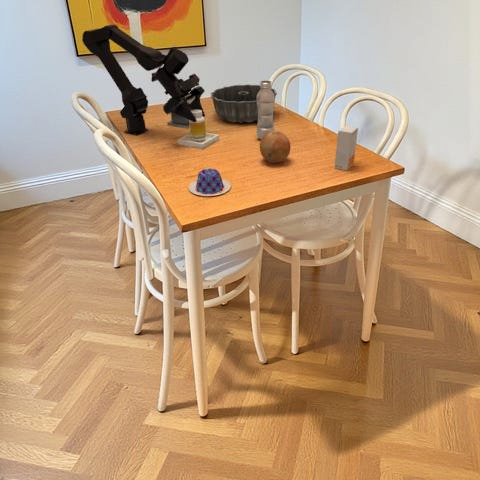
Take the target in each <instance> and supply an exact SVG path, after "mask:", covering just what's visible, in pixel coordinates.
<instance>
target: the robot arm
mask: <svg viewBox="0 0 480 480" xmlns="http://www.w3.org/2000/svg"><path fill="white" fill-rule="evenodd" d="M81 41H82V43H83V45H84V47H86V49H87V50H88V51H89V53H91V54H93V55H94V56H96V57H97V58H98V59H99V61H101V64H102V65H103V66H104V69H106V70H105V71H107V73H108V74H109V76H110V77H111V79H112V80H113V82H114V84H115V85H116V87H117V89H118V90H119V92H120V94H121V102H122V104H123V108H122V109H121V110H120V112H119V115H121V118H122V119H125V123H126V124H125V125H126V129H127V130H124V133H125V134H131V135H135V136H137V135H138V136H139V135H140V134H142V133H145V132H147V131H148V130H149V129H148V128H146V121H145V117H144V114H147V109H148V106H149V100H148V95H146V94H145V93H144V89H143V88H141V87H139V88H137V87H135V86H134V85H133V83H132V82H131V81H130V79H129V77H128V76H127V74H126V73H125V70H124V69H123V68H122V66H121V65H120V64H119V62H118V60H117V59H116V57H115V55H114V54H113V52H112V51H111V43H110V41H112V42H113V43H114V44H116V45H118V46H119V47H120V48H122V49H123V50H125V51H126V52H127V53H128V54H131V56H133V57H134V58H135V59H136V62H137V64H138V65H140V67H141V68H143V69H144V70H145V71H147V72H150V71H154V70H156V69H157V70H156V71H155V72H152V73H151V82H152V83H154V82H157V81H158V82H159V84H160V85H161V86H162V87H163V88H164V89H165V91H164V94H165V95H169V96H170V98H168V100H167V101H166V103H165V104H163V106H162V109H163V111H164V113H165V114H166V116H167V115H168V116H169V115H171V113H172V109H173V108H174V110H175V111H174V112H173V114H177V115H180V116H182V117H184V118H186V119H188V120H190V121H193V122H196V121H197V120H196V118H195V117H194V115H193V114H192V112H191V111H190V109H189V108H191V109H192V110H202V116H203V117H204V118H205V117H206V114H205V111H204V108H203V106H202V103H201V97H202V95H203V94H204V93H205V89H204V88H203V87H202V86H201V85H200V84H199V83H200V80H201V79H200V77H199V76H198V75H196V73H192V74H191V75H189V76H188V79H185V80H184V79H183V78H178V77H177V76H176V75H179V74H180V73H181V71H183V69H184V67H186V65H187V64H188V62H189V61H190V59H189V57H188V55H187V53H185V52H183V51H182V50H180V49H178V48H177V47H176V46H173V47H171V48H170V49H169V51H168V52H167V54H163V53H162V52H161V51H160V50H158V49H156V48H153V47H150V46H147V45H144V44H142V43H141V42H139V41H137V40H136V39H134V38H133V37H132V36H131V35H129V34H128V33H126V32H125V31H123V30H122V29H120V28H119V26H118V25H116V24H108V25H105V26H102V27H100V28H95V29H90V30H89V29H88V30H84V31H83V33H82V40H81ZM187 101H188V102H189V105H188V106H187ZM188 107H189V108H188Z"/></svg>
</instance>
